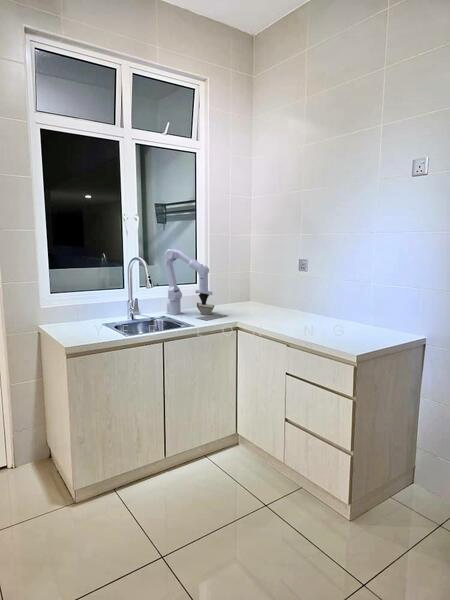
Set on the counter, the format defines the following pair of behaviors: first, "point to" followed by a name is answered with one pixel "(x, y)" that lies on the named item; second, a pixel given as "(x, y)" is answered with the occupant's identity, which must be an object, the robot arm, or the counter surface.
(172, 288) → the robot arm
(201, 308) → the food container
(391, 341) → the counter surface
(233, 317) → the counter surface
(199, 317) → the mat
